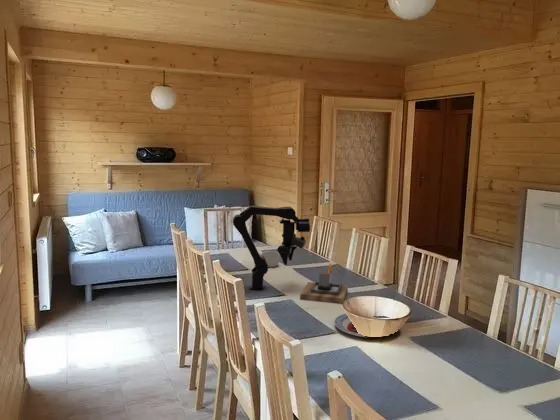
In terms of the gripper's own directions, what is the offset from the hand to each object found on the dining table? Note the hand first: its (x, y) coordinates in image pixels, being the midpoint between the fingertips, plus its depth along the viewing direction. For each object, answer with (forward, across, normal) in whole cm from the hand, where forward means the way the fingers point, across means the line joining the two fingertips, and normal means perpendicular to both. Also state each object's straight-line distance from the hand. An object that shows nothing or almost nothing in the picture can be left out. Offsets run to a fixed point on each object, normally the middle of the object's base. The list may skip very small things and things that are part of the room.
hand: (288, 262), depth 239 cm
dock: (+13, -5, -20) cm, 24 cm away
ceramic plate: (+14, -40, -44) cm, 61 cm away
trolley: (+10, -5, -20) cm, 23 cm away
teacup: (+13, +36, +22) cm, 44 cm away
